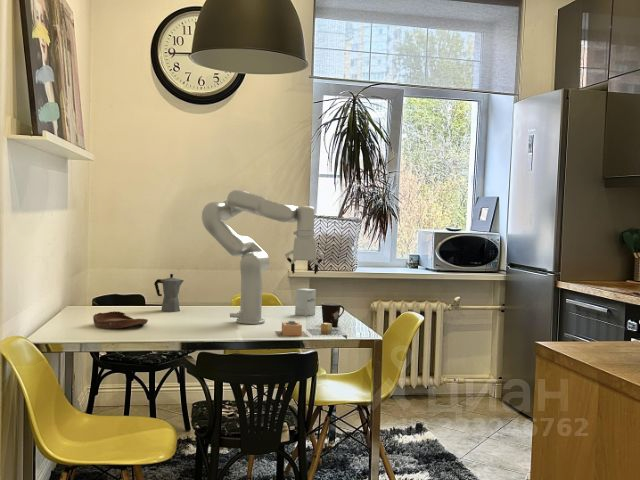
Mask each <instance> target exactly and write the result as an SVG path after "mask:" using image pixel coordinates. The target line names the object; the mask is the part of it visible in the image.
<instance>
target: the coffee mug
mask: <svg viewBox="0 0 640 480" xmlns="http://www.w3.org/2000/svg"><path fill="white" fill-rule="evenodd" d="M320 306H321V316H322V317H321V318H322V323H331V324H332V327H335V328H338V325H339V319H340V317H342V315H343V314H344V311H345V307H344V306H342V304H341V303H337V302H322V303H321V305H320ZM341 309H342V312H341Z"/></svg>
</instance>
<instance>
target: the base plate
mask: <svg viewBox="0 0 640 480" xmlns="http://www.w3.org/2000/svg"><path fill="white" fill-rule="evenodd" d="M306 330H307V331H308V332H309V334H310V335H312V336H342V337H343V338H345V339H346V340H347V339H348V335H347V334H346V333H345V332H344V331H342V330H341V329H339V328H336V329H335V328H332V324H331V323H323V322H322V323H320V328H317V329H316V328H306Z"/></svg>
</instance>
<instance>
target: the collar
mask: <svg viewBox="0 0 640 480" xmlns="http://www.w3.org/2000/svg"><path fill="white" fill-rule="evenodd" d="M281 331H282V333H283V335H302V331H303V325H302V324H301V323H300V322H298V321H297V322H296V321H295V325H288V322H287V321H285V322H283V321H282V322H281Z"/></svg>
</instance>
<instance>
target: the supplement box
mask: <svg viewBox="0 0 640 480" xmlns="http://www.w3.org/2000/svg"><path fill="white" fill-rule="evenodd" d="M316 295H317V289H313V288H307V287H306V288H296V289H295V306H294V308H295V309H294V313H295V314H294V315H296V316H297V315H298V316H302V317H303V316H304V317H308V316H314V315H316V299H317V296H316Z"/></svg>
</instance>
